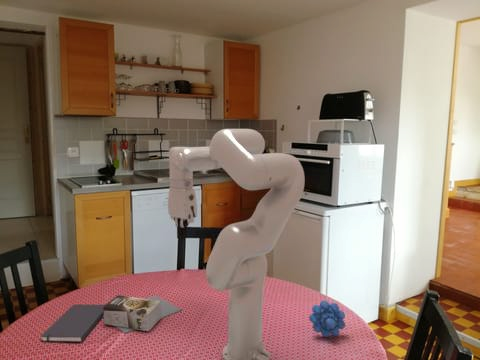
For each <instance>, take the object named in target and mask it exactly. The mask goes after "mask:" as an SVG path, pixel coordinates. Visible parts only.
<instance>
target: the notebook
mask: <svg viewBox="0 0 480 360" xmlns="http://www.w3.org/2000/svg"><path fill="white" fill-rule="evenodd" d="M104 305H105V304H72V305H71V306H70V307H69V308H68V309H67V310H66V311H65V312H64V313H63V314H62V315H61V316H60V317H59V318H57V320H56V321H54V323H53V324H51V325H50V326H49V327H48V328H47V329H46V330H45V331H44V332H43V333H42V334H41V335H40V337H41V342H49V343H50V342H56V343H57V342H58V343H59V342H60V343H62V342H63V343H71V342H72V343H82V342H83V341H84V340H85V339H86V337H87V336H88V335H89V334H90V332H92V330H93V329H94V327H96V325H97V324H98V323H99V321H100V320H101V319H103V306H104Z"/></svg>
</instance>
